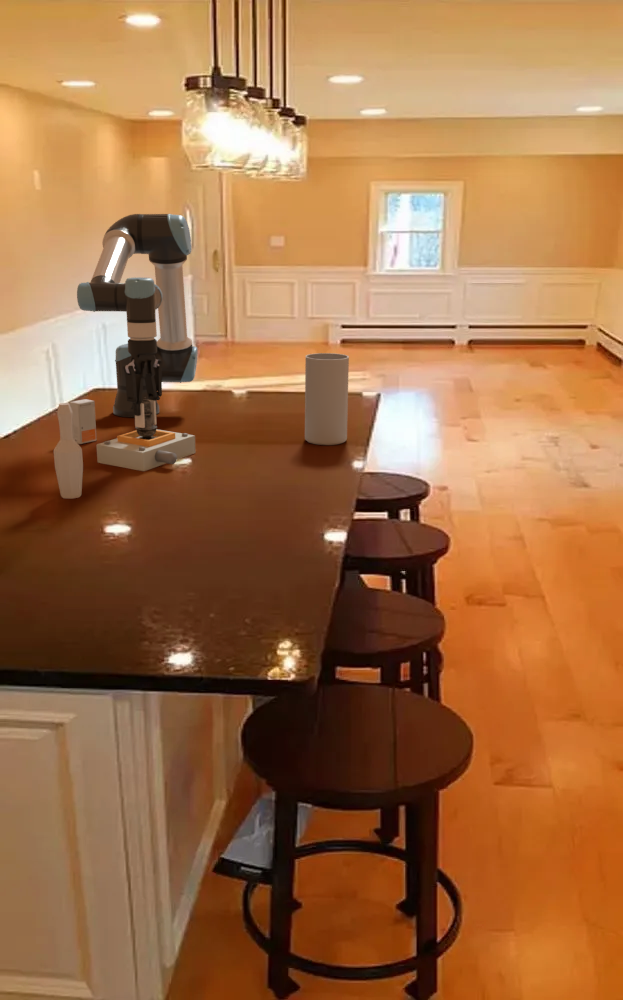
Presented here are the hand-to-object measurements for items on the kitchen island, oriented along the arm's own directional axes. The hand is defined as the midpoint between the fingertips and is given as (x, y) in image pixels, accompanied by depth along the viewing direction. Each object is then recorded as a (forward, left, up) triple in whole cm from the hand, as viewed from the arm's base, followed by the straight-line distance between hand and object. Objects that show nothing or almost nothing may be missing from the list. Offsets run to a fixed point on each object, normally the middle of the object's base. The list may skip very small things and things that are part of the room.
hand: (146, 425), depth 237 cm
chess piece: (0, 0, -4) cm, 4 cm away
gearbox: (0, +2, -9) cm, 9 cm away
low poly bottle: (+36, +7, -9) cm, 38 cm away
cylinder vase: (-43, +32, -9) cm, 54 cm away
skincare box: (-4, -27, -9) cm, 29 cm away
